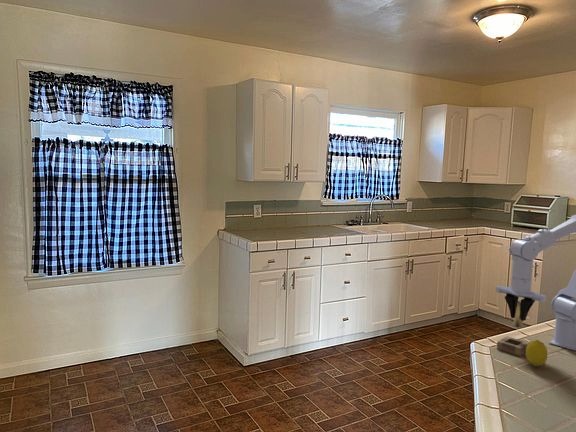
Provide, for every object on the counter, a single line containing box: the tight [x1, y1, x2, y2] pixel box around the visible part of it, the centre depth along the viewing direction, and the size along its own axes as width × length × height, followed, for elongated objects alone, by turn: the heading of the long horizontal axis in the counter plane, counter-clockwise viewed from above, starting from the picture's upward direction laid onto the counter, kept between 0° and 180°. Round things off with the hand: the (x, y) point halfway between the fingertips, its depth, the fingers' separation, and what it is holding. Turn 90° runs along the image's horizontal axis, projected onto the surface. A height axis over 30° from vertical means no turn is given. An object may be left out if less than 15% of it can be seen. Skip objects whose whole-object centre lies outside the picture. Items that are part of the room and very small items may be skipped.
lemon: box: [525, 339, 548, 368], centre depth 128 cm, size 6×6×8 cm
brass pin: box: [513, 300, 524, 328], centre depth 141 cm, size 2×2×8 cm
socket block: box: [496, 336, 530, 357], centre depth 140 cm, size 7×7×2 cm
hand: (518, 318), depth 141 cm, fingers closed on brass pin, 2 cm apart
